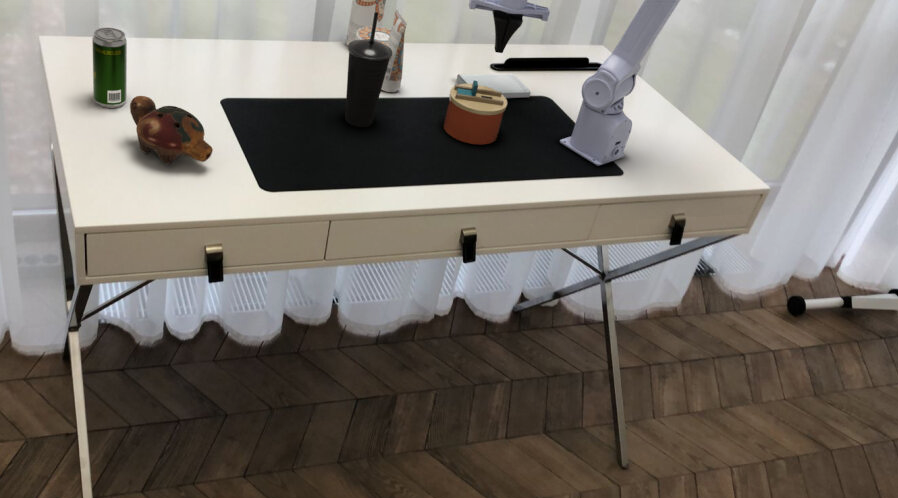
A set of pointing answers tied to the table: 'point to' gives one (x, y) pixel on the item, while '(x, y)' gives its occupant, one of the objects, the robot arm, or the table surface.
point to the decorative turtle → (168, 131)
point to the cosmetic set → (380, 36)
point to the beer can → (109, 67)
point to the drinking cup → (365, 78)
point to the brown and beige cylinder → (475, 114)
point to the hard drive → (498, 83)
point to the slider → (469, 92)
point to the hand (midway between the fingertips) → (498, 50)
